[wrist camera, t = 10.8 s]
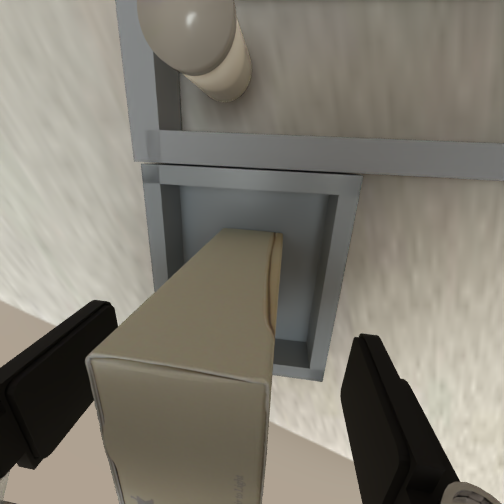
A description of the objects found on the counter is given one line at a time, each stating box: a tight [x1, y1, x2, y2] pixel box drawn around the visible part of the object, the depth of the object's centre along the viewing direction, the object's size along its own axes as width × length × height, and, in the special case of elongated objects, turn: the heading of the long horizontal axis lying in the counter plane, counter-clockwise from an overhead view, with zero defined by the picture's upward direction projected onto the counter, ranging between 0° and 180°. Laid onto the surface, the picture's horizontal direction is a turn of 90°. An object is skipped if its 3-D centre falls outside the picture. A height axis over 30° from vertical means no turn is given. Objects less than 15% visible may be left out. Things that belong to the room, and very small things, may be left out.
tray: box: [141, 163, 363, 382], centre depth 17 cm, size 12×14×3 cm
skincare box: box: [85, 228, 283, 504], centre depth 12 cm, size 6×4×12 cm
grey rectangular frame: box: [115, 0, 504, 181], centre depth 12 cm, size 27×10×3 cm, turn 87°
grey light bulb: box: [137, 0, 252, 102], centre depth 11 cm, size 3×3×6 cm
